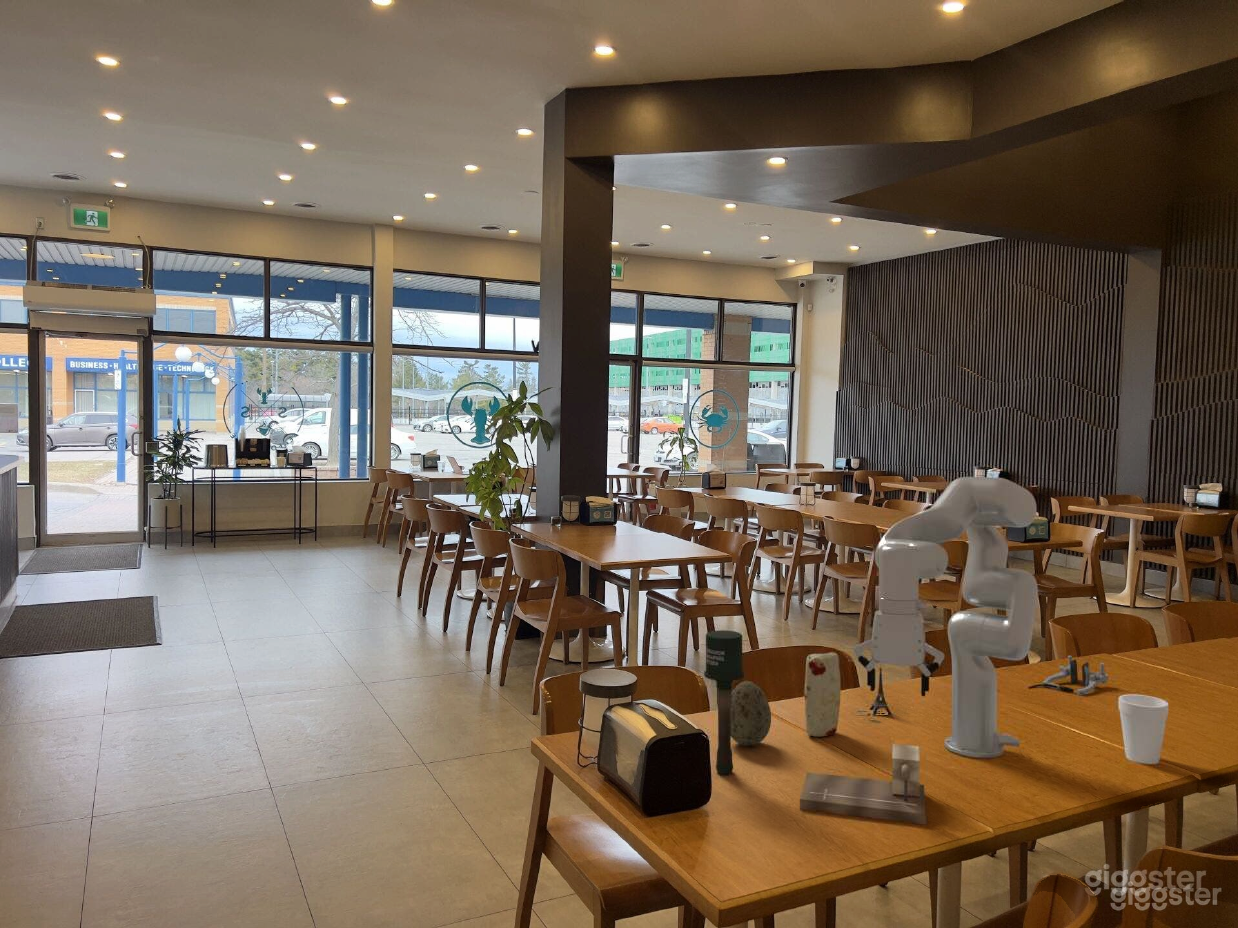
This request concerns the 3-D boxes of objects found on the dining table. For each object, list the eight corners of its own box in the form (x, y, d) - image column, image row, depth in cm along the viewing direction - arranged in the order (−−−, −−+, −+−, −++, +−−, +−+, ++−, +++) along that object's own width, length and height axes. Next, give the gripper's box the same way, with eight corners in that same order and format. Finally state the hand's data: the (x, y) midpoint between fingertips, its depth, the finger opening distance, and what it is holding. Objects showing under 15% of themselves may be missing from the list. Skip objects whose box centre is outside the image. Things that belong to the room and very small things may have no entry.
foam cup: (1150, 769, 188) (1151, 709, 187) (1109, 755, 196) (1109, 698, 196) (1176, 761, 192) (1177, 702, 192) (1135, 748, 200) (1135, 692, 200)
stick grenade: (701, 765, 192) (700, 630, 191) (739, 764, 193) (739, 628, 192) (708, 781, 184) (707, 639, 183) (748, 779, 185) (748, 638, 184)
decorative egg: (736, 755, 198) (735, 689, 198) (717, 739, 209) (717, 677, 208) (779, 750, 201) (779, 685, 201) (758, 734, 212) (758, 673, 211)
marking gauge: (918, 788, 178) (918, 746, 177) (919, 815, 165) (919, 769, 165) (892, 786, 179) (892, 743, 179) (891, 812, 167) (892, 766, 167)
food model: (816, 742, 206) (815, 657, 205) (797, 733, 212) (797, 651, 211) (847, 734, 211) (847, 652, 210) (828, 726, 217) (828, 646, 216)
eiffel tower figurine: (879, 703, 236) (879, 654, 236) (913, 712, 229) (913, 662, 228) (845, 715, 227) (845, 664, 226) (879, 725, 219) (879, 672, 219)
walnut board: (923, 794, 176) (923, 784, 176) (925, 824, 163) (925, 813, 163) (807, 781, 183) (807, 771, 183) (799, 809, 170) (799, 798, 170)
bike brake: (1066, 673, 259) (1028, 695, 248) (1064, 651, 258) (1026, 673, 247) (1113, 685, 248) (1076, 709, 237) (1112, 662, 247) (1074, 685, 236)
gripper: (945, 606, 175) (944, 691, 175) (855, 600, 181) (855, 682, 181) (944, 613, 168) (943, 701, 168) (851, 607, 174) (851, 692, 174)
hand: (897, 691), depth 175 cm, fingers open, 9 cm apart
